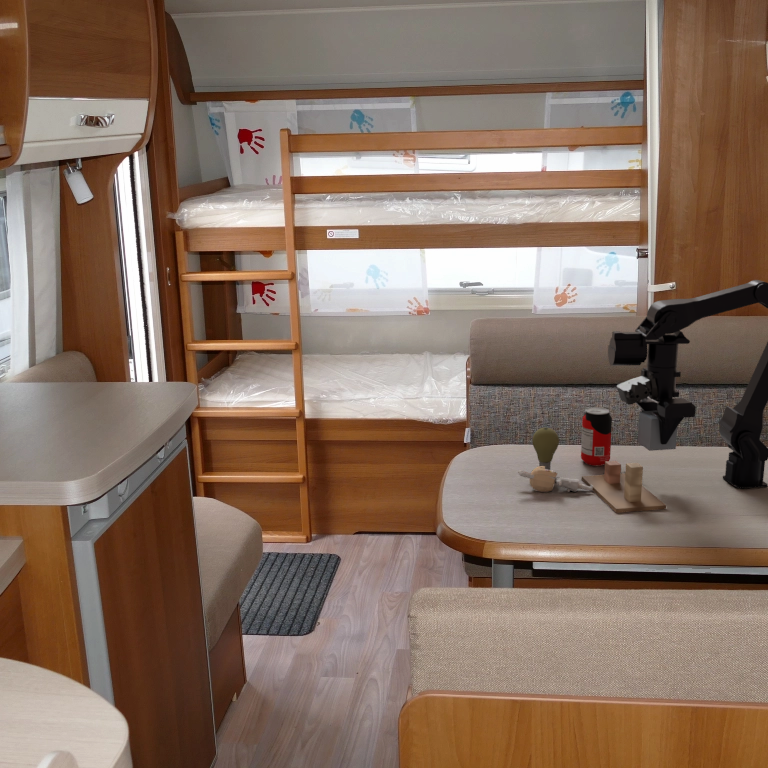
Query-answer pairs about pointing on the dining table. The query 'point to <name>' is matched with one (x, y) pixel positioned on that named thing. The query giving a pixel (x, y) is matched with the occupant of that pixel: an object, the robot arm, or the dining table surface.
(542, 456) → the light bulb
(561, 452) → the dining table surface
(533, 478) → the toy
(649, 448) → the matte grey box
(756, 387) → the robot arm
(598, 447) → the beverage can
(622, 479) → the post board
